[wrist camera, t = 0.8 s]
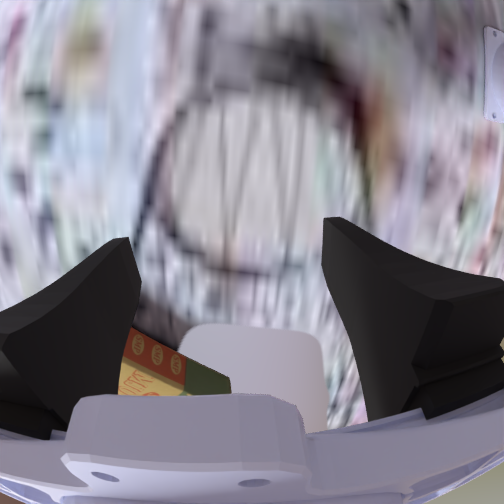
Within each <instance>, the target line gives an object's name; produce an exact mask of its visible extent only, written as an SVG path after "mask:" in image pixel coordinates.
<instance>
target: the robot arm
mask: <svg viewBox="0 0 504 504" xmlns="http://www.w3.org/2000/svg"><path fill="white" fill-rule="evenodd" d="M493 33H494V35H493ZM484 40H485V103H484V117H485V118H486V119H487V120H490V121H495V122H500V123H504V32H501V31H499V30H497V29H495V28H492V27H489V26H486V27H485V28H484ZM492 115H493V116H492ZM321 265H322V269H323V273H324V276H325V280H326V283H327V287H328V289H329V291H330V294H331V296H332V298H333V301H334V303H335V305H336V308H337V310H338V312H339V314H340V317H341V319H342V321H343V324H344V326H345V328H346V331H347V333H348V336H349V339H350V342H351V345H352V349H353V353H354V356H355V360H356V364H357V368H358V372H359V376H360V381H361V385H362V390H363V395H364V400H365V405H366V411H367V417H368V422H366V423H362V424H357V425H352V426H348V427H343V428H337V429H332V430H327V431H321V432H315V433H308V434H305V429H304V423H303V418H302V416H301V414H300V412H299V411H298V409H297V407H296V405H294V404H291V403H289V402H286V401H284V400H281V399H278V398H276V397H273V396H271V395H264V394H243V393H235V394H219V395H196V396H133V395H118V388H119V378H120V371H121V364H122V358H123V353H124V349H125V346H126V342H127V339H128V335H129V332H130V329H131V326H132V322H133V319H134V316H135V312H136V309H137V306H138V302H139V296H140V290H141V283H142V281H141V278H140V274H139V271H138V268H137V265H136V261H135V258H134V255H133V251H132V248H131V244H130V241H129V237H124V238H115V239H112V240H111V241H109V242H107V243H106V244H104V245H103V246H101V247H100V248H99V249H97V250H96V251H95V252H94V253H92V254H91V255H90V256H88V257H87V258H86V259H85V260H83V261H82V262H81V263H79V264H78V265H77V266H75V267H74V268H73V269H71V270H70V271H69V272H67V273H66V274H65V275H63V276H62V277H61V278H59V279H58V280H56V281H55V282H54V283H52V284H51V285H49V286H47V287H46V288H44V289H43V290H41V291H40V292H38V293H36V294H34V295H33V296H31V297H29V298H27V299H25V300H23V301H22V302H20V303H18V304H16V305H14V306H12V307H10V308H8V309H5V310H3V311H1V312H0V492H2V493H4V494H7V495H8V496H11V497H13V498H15V499H17V500H19V501H22V502H24V503H27V504H423V503H425V502H427V501H430V500H432V499H435V498H437V497H439V496H441V495H443V494H445V493H447V492H450V491H451V490H454V489H456V488H458V487H460V486H461V485H463V484H465V483H467V482H469V481H471V480H473V479H475V478H476V477H478V476H480V475H482V474H483V473H485V472H487V471H489V470H490V469H492V468H494V467H495V466H497V465H499V464H500V463H502V462H504V363H503V361H502V360H501V358H502V357H503V356H504V350H503V349H502V347H501V346H500V343H501V341H502V339H503V338H504V281H503V280H502V279H500V278H493V277H487V276H481V275H474V274H470V273H466V272H461V271H457V270H453V269H450V268H446V267H443V266H440V265H437V264H434V263H431V262H428V261H425V260H423V259H420V258H418V257H415V256H413V255H411V254H408V253H406V252H404V251H402V250H400V249H397V248H396V247H394V246H392V245H390V244H388V243H386V242H384V241H382V240H380V239H379V238H377V237H375V236H373V235H372V234H370V233H368V232H366V231H365V230H363V229H361V228H360V227H358V226H356V225H355V224H353V223H351V222H349V221H348V220H346V219H344V218H341V217H330V218H324V221H323V245H322V263H321Z"/></svg>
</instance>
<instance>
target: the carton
mask: <svg viewBox="0 0 504 504" xmlns="http://www.w3.org/2000/svg"><path fill="white" fill-rule="evenodd" d="M219 394H231V383H230V379H229V377H226V376H225V375H223V374H221V373H219V372H217V371H215V370H213V369H211V368H208V367H206V366H204V365H202V364H200V363H198V362H196V361H194V360H192V359H190V358H188V357H186V356H184V355H182V354H180V353H178V352H176V351H174V350H173V349H171V348H169V347H166V346H164V345H162V344H160V343H158V342H157V341H155V340H154V339H151V338H150V337H148V336H147V335H144V334H143V333H141V332H139V331H137V330H136V329H134V328H132V327H131V329H130V332H129V335H128V339H127V342H126V346H125V349H124V353H123V358H122V364H121V371H120V378H119V388H118V395H133V396H196V395H219Z"/></svg>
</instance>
